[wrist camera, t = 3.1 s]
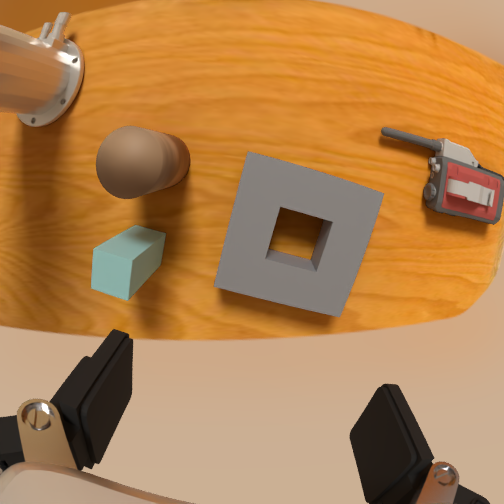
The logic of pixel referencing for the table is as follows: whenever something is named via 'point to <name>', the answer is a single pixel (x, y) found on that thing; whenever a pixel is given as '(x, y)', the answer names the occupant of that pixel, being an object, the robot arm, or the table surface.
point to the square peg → (127, 261)
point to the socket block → (289, 266)
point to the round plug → (140, 162)
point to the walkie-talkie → (458, 180)
